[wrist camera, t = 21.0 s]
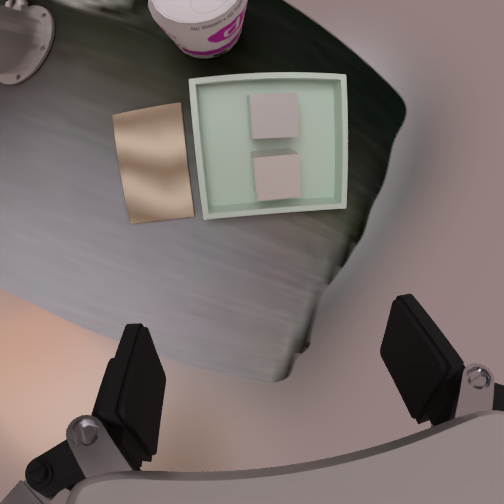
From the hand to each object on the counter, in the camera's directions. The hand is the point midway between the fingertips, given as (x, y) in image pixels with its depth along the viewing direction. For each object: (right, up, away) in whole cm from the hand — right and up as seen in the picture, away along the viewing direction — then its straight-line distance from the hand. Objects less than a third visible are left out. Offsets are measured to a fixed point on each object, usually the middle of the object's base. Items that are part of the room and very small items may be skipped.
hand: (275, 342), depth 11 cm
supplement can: (-6, +30, +18) cm, 36 cm away
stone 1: (+1, +20, +23) cm, 31 cm away
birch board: (-13, +14, +26) cm, 32 cm away
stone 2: (+2, +14, +27) cm, 30 cm away
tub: (+1, +17, +25) cm, 31 cm away
